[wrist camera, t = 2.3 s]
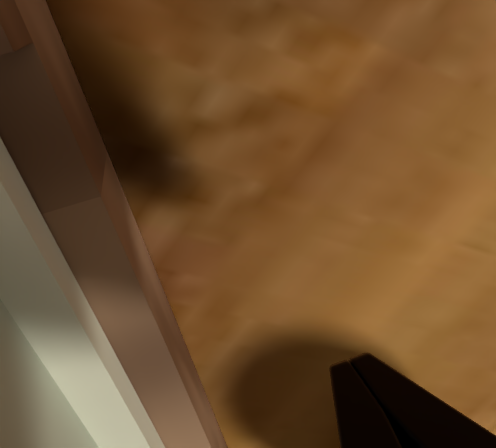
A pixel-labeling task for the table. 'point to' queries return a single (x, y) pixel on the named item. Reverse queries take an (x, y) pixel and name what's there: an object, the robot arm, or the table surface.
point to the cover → (55, 344)
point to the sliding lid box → (95, 222)
